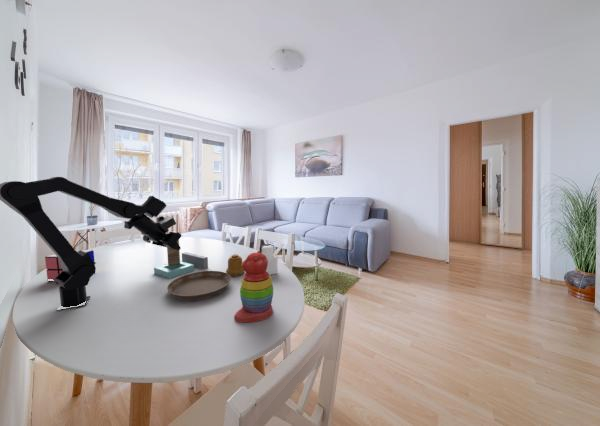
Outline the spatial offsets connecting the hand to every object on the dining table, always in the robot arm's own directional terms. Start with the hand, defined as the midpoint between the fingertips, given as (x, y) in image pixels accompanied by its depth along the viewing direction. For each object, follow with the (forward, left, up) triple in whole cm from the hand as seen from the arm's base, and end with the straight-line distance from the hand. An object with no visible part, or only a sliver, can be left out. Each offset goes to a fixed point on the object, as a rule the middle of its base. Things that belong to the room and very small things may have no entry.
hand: (176, 248), depth 98 cm
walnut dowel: (-1, +1, -7) cm, 7 cm away
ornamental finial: (-16, -21, -10) cm, 28 cm away
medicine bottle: (-22, -33, -10) cm, 40 cm away
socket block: (-1, +1, -10) cm, 10 cm away
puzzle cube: (+14, +36, -10) cm, 41 cm away
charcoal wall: (+4, -7, -10) cm, 13 cm away
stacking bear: (-50, -17, -10) cm, 53 cm away
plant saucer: (-25, -6, -11) cm, 27 cm away
